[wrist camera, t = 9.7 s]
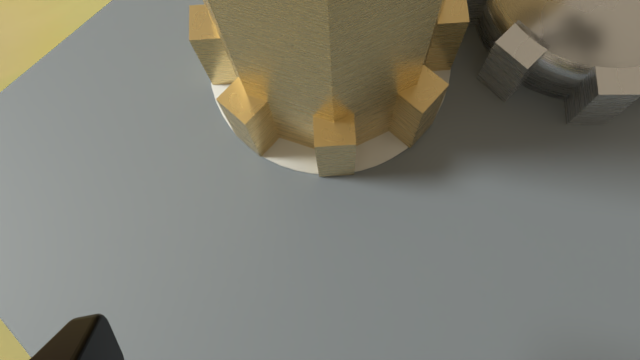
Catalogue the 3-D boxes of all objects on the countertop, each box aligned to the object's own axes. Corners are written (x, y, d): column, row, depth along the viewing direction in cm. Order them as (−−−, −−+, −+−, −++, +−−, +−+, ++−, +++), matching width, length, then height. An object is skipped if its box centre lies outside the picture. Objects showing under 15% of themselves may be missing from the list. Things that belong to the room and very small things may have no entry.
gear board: (876, 282, 18) (1036, 268, 14) (432, 834, 15) (466, 1028, 11) (332, -155, 23) (329, -261, 19) (-81, 190, 20) (-192, 153, 16)
